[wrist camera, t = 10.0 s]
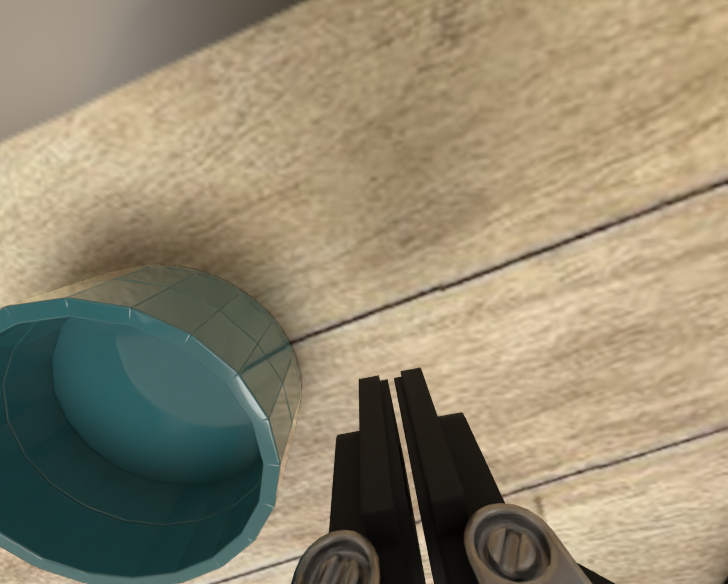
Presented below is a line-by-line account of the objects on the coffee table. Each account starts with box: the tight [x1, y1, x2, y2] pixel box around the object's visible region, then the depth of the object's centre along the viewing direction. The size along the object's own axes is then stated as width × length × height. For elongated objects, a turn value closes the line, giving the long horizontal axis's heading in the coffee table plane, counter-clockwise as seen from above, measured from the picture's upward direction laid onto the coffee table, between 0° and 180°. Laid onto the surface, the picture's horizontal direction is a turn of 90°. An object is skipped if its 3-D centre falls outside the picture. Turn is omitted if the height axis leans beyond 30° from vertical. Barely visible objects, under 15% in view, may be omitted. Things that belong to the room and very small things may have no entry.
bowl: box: [0, 264, 301, 584], centre depth 14 cm, size 12×12×5 cm
